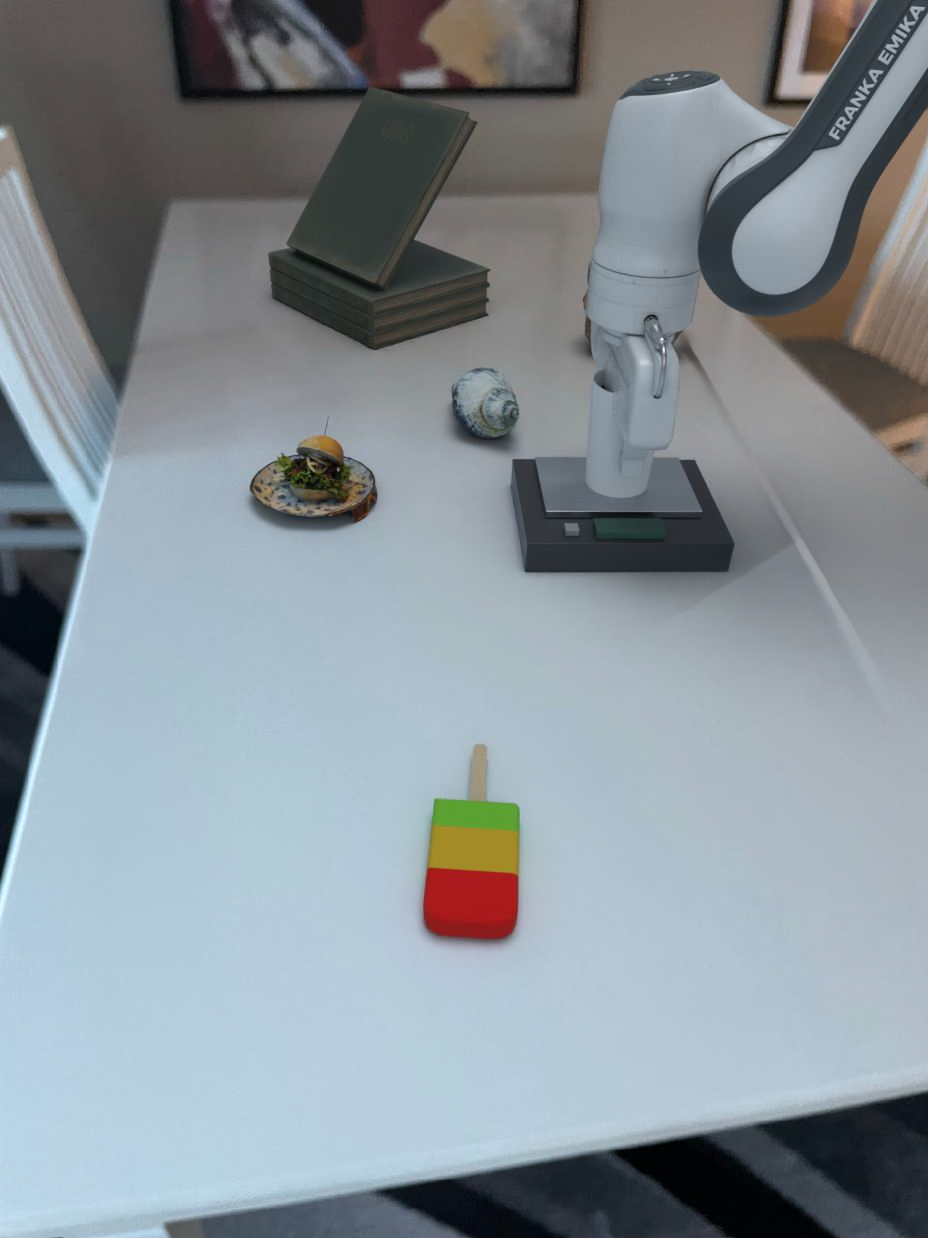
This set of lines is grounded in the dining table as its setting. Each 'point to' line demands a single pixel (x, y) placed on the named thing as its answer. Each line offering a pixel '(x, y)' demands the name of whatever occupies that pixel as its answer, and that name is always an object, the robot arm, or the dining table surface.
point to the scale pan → (576, 500)
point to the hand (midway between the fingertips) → (620, 447)
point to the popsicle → (473, 863)
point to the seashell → (485, 403)
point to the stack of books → (382, 229)
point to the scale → (618, 534)
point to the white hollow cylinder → (609, 448)
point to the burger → (316, 481)
